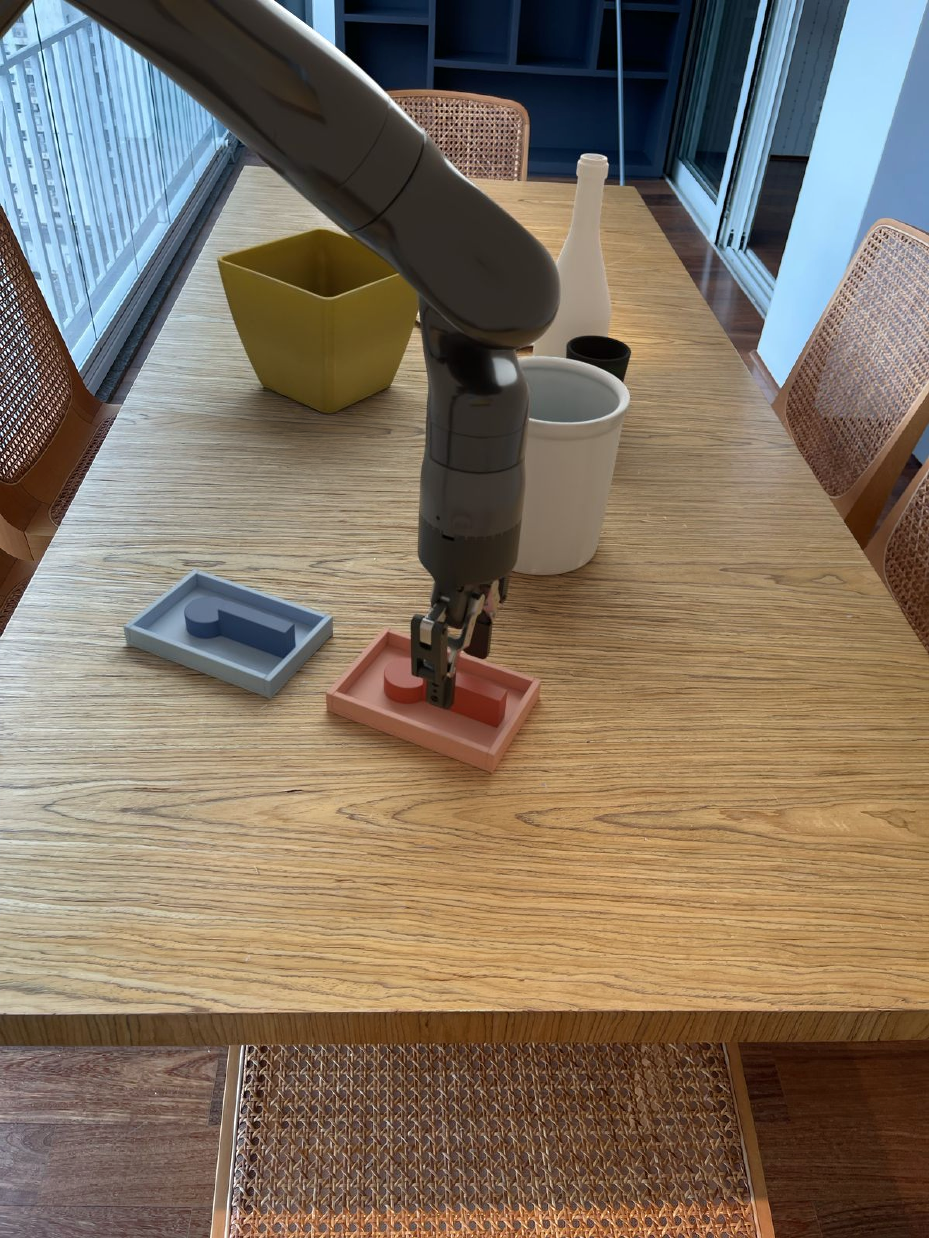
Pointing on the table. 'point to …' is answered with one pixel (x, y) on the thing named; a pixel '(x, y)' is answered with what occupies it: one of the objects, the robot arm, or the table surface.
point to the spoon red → (469, 693)
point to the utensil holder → (567, 461)
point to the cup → (600, 353)
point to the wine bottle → (581, 267)
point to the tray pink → (424, 722)
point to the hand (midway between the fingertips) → (458, 678)
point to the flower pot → (319, 316)
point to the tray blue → (221, 656)
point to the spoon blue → (239, 625)
